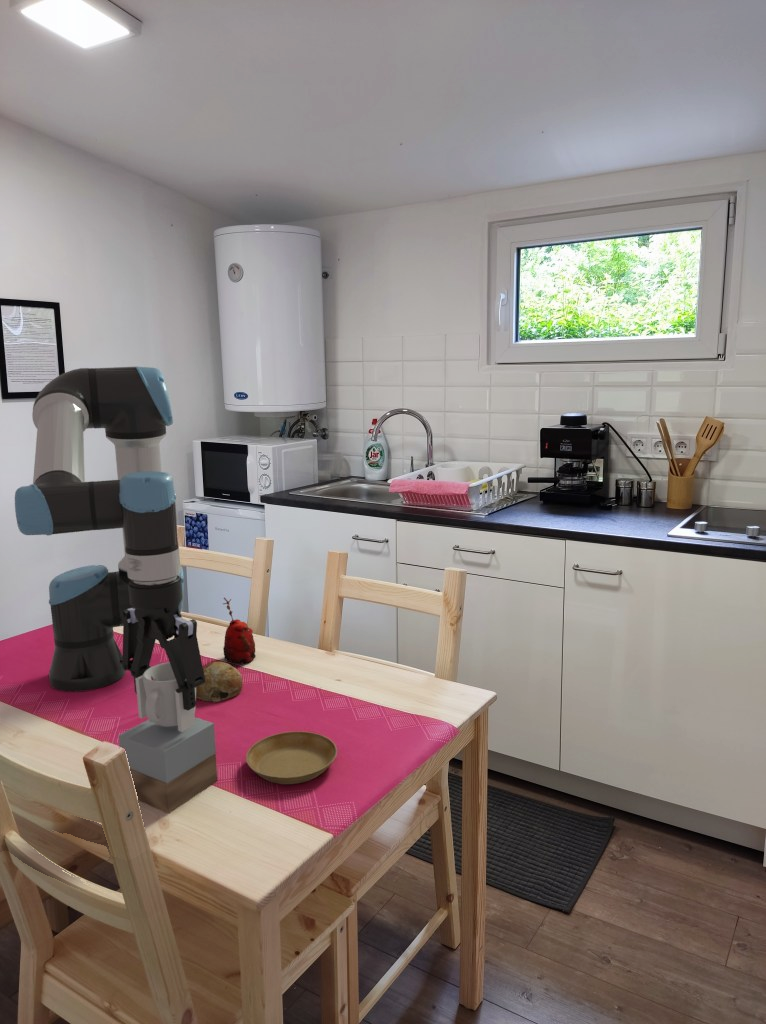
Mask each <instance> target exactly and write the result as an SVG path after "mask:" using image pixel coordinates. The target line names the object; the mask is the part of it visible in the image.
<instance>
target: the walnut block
mask: <svg viewBox="0 0 766 1024" xmlns="http://www.w3.org/2000/svg"><path fill="white" fill-rule="evenodd" d="M216 756H217V753H215V754H213V755H212V756H210V757H208V758H207V759H205V760H204V761H202V762H200V763H199V764H197V765H196V766H194V767H192V768H191V769H189V770H188V771H186V772H184V773H183V774H181V775H180V776H178V777H176V778H175V779H173V780H172V781H170V782H168V783H165V782H162V781H160V780H157V779H155V778H152V777H150V776H147V775H145V774H142V773H140V772H137V771H135V770H132V769H130V771H131V774H132V778H133V781H134V785H135V789H136V792H137V796H138V800H139V801H138V800H137V801H138V802H140V803H143V804H146V805H147V804H148V806H150V807H152V808H155V809H157V810H159V811H160V812H163V813H166V814H171V813H172V812H174V811H175V810H177V809H178V808H180V807H181V806H183V805H184V804H186V803H187V802H188V801H190V800H192V799H193V798H195V797H196V796H198V795H199V794H200V793H202V792H204V791H205V790H206V789H209V787H211V786H213V785H214V784H216V783H217V782H218V768H217V757H216Z"/></svg>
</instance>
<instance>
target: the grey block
mask: <svg viewBox="0 0 766 1024" xmlns="http://www.w3.org/2000/svg"><path fill="white" fill-rule="evenodd" d="M215 736H216V735H215V723H214V722H211V721H208V720H205V719H202V718H198V717H195V725H193V726H192V727H190V728H188V729H186V730H185V731H183V732H180V731H178V726H172V727H164V726H159V725H157V724H155V723H154V722H150V721H149V720H148V719H147V720H145V721H143V722H141V723H140V724H137V725H135V726H134V727H132V728H130V729H128V730H125V731H124V732H122V733H120V734H118V745H119V748H120V747H122V748H124V749H125V751H126V754H127V758H128V762H129V766H130V769H132V770H135V771H137V772H140V773H142V774H145V775H147V776H150V777H152V778H155V779H157V780H160V781H162V782H165V783H168V782H170V781H172V780H173V779H175V778H176V777H178V776H180V775H181V774H183V773H184V772H186V771H188V770H189V769H191V768H192V767H194V766H196V765H197V764H199V763H200V762H202V761H204V760H205V759H207V758H208V757H210V756H212V755H213V754H217V750H216V749H217V747H216V746H217V745H216V737H215Z"/></svg>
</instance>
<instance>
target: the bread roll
mask: <svg viewBox="0 0 766 1024" xmlns="http://www.w3.org/2000/svg"><path fill="white" fill-rule="evenodd" d="M203 671H204V676H205V683H204V684H202V685H200V686H198V687H196V699H198V700H200V699H201V700H200V701H203V702H208V701H209V702H212V701H213V702H212V703H218V702H222V701H226V700H229V699H230V698H231V699H232V698H234V696H235V697H237V696H239V695H240V694H241V692H242V691H243V686H244V683H243V682H244V681H243V676H242V674H241V672H240V671H239V670H238V668H236V667H234V666H232V665H231V664H230V663H227V662H224V661H212V662H209V663H207V664H206V665H204V666H203ZM238 694H239V695H238ZM225 699H226V700H225ZM221 700H222V701H221Z"/></svg>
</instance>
